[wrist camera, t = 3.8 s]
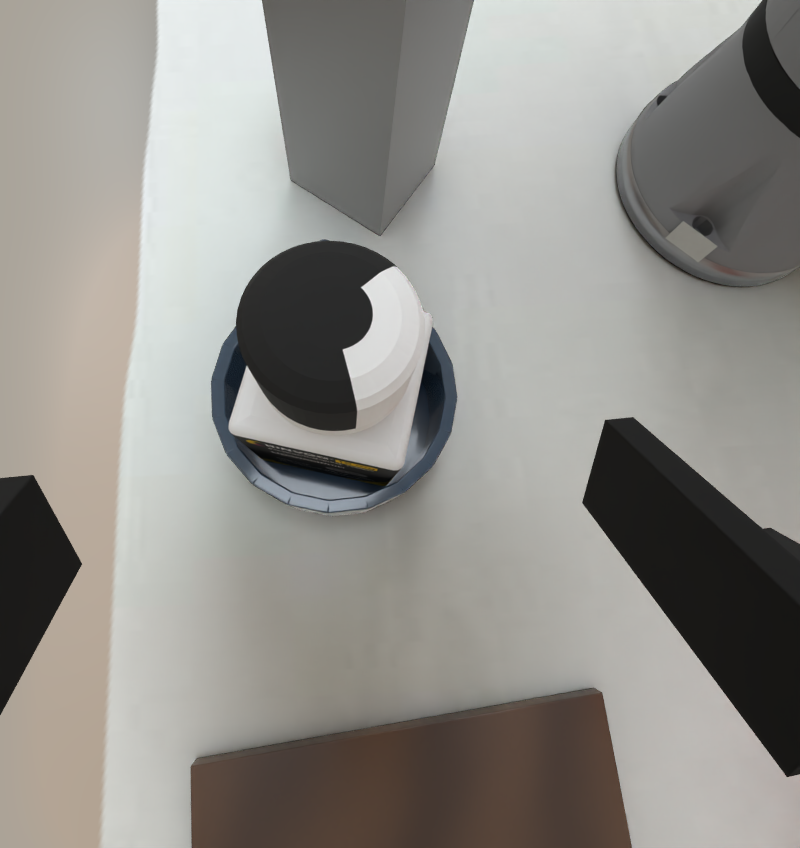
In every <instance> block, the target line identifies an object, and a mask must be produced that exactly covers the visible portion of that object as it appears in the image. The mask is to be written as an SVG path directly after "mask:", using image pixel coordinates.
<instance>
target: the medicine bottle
mask: <svg viewBox="0 0 800 848" xmlns="http://www.w3.org/2000/svg"><path fill="white" fill-rule="evenodd" d="M432 325H433V318H432V316H431V314H429V313H427V312H424V311H423V308H422V305H421V302H420V300H419V297H418V295H417V293H416V291H415V289H414V287H413V285H412V284H411V283H410V281H409V280H408V278H407V277H406V276H405V275H404V274H403V273H402V272H401V270H400V269H399V268H398V267H397V266H395V265H394V264H393V263H392V262H390V261H389V260H388V259H386V258H385V257H383V256H381V255H380V254H378V253H376V252H374V251H372V250H370V249H368V248H365V247H362V246H359V245H356V244H352V243H346V242H340V241H318V242H312V243H306V244H302V245H299V246H296V247H293V248H290V249H288V250H286V251H284V252H282V253H280V254H278V255H277V256H275V257H274V258H272V259H271V260H269V261H268V262H267V263H266V264H265V265H263V266H262V267H261V268H260V269H259V270H258V272H257V273H256V274H255V275H254V276H253V277H252V279H251V280H250V282H249V283H248V285H247V287H246V288H245V291H244V293H243V295H242V297H241V300H240V304H239V307H238V311H237V319H236V332H237V339H238V344H239V348H240V351H241V354H242V357H243V359H244V361H245V363H246V365H247V366H246V370H245V373H244V376H243V379H242V382H241V386H240V389H239V392H238V395H237V398H236V402H235V405H234V408H233V411H232V415H231V418H230V421H229V431H230V432H231V434H233V435H234V436H235V437H236V438H237V439H238V440H240V441H241V442H242V443H243V444H244V445H246V446H247V447H248V448H249V449H250V450H251V451H253V452H254V453H255V454H256V455H257V456H259V457H260V458H261V459H263V460H266V461H271V462H275V463H280V464H284V465H289V466H293V467H298V468H303V469H307V470H312V471H316V472H321V473H325V474H330V475H334V476H339V477H344V478H348V479H353V480H357V481H362V482H366V483H371V484H375V485H380V486H385V485H387V484H388V483H389V482H390V481H391V480H392V479H393V478H394V476H395V475H396V474H397V473H398V472H399V471H400V469H401V468H402V467H403V465H404V461H405V457H406V452H407V447H408V442H409V437H410V432H411V427H412V422H413V418H414V413H415V408H416V403H417V398H418V393H419V388H420V383H421V379H422V374H423V369H424V364H425V359H426V354H427V349H428V345H429V340H430V335H431V330H432Z"/></svg>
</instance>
